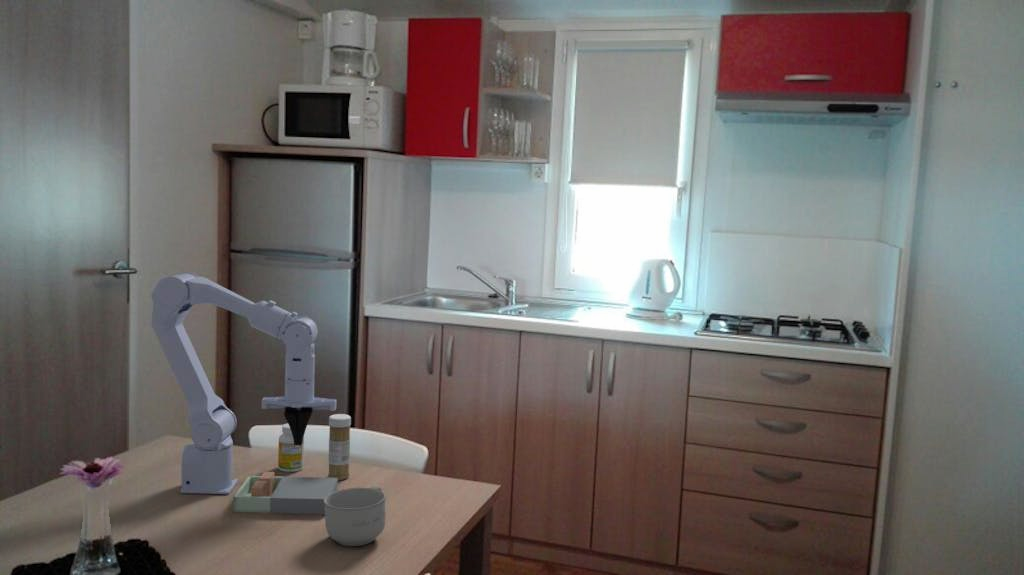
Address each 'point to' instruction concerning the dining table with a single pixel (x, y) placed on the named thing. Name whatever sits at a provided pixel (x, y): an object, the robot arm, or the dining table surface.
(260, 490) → the tile
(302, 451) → the supplement bottle
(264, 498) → the tray
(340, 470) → the sprinkles bottle
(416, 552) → the dining table surface
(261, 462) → the dining table surface
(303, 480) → the slate board
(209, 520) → the dining table surface
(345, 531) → the teacup
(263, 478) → the tile
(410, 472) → the dining table surface
